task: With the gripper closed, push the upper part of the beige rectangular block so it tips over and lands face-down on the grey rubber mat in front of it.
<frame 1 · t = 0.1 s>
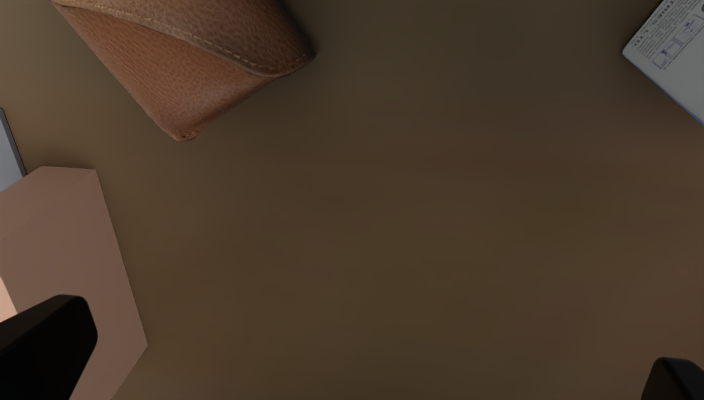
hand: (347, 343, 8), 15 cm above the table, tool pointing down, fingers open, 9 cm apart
beige rectangular block: (100, 263, 29), on the table
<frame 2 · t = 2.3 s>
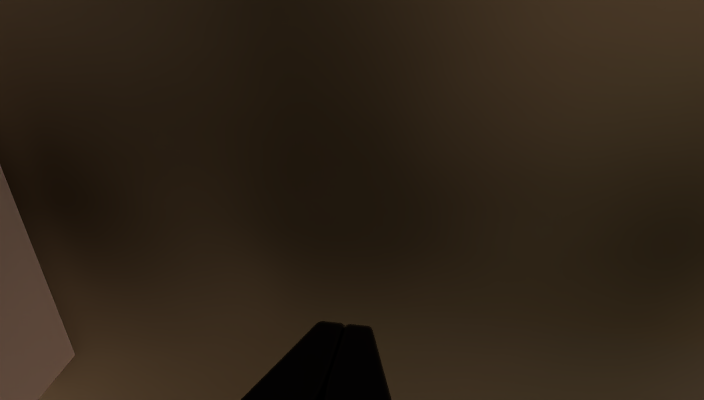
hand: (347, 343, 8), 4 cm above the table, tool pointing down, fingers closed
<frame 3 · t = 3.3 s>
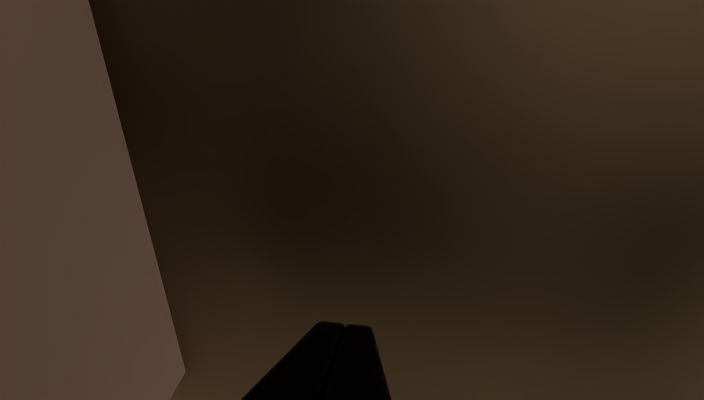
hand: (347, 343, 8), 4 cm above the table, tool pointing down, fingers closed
beige rectangular block: (87, 193, 13), on the table
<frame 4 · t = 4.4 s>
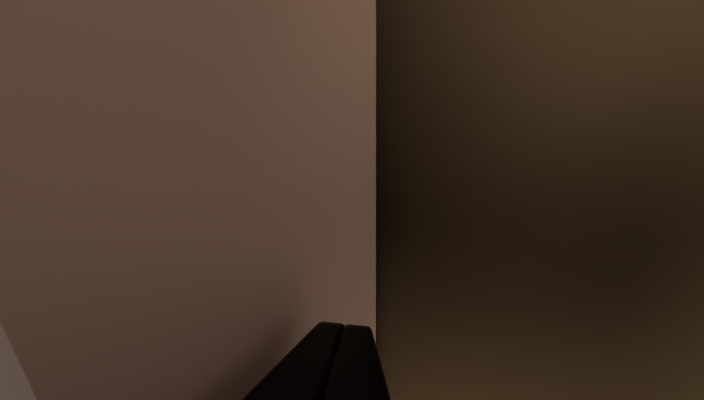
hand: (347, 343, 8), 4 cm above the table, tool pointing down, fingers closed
beige rectangular block: (315, 217, 12), on the table, tilted 17°
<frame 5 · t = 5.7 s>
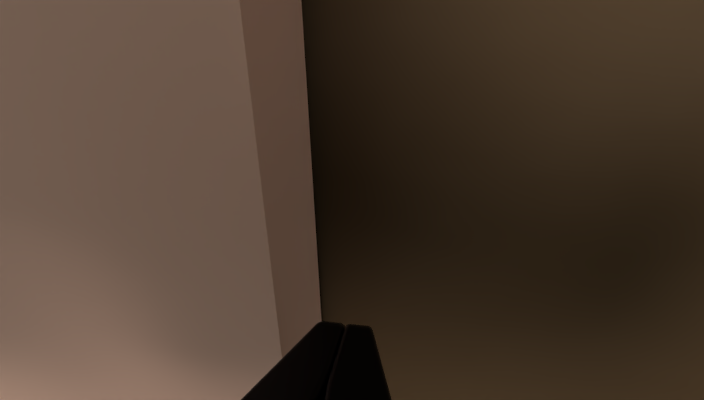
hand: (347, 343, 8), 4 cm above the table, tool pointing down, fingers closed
beige rectangular block: (297, 254, 10), point 2 cm above the table, tilted 90°, touching mat
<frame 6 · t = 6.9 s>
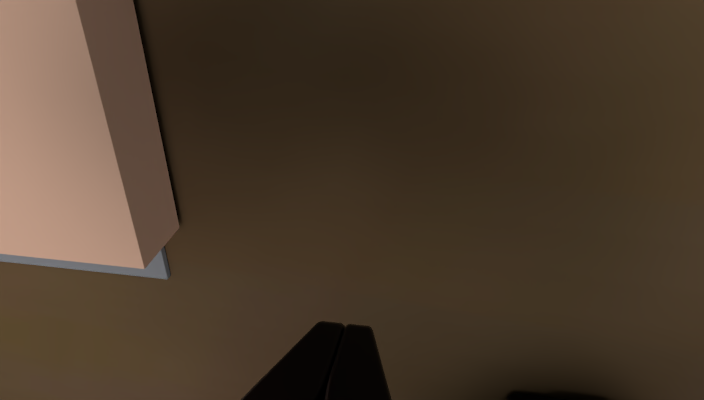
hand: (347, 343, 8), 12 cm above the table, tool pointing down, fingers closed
beige rectangular block: (131, 108, 18), point 2 cm above the table, tilted 90°, touching mat
mat: (14, 85, 21), on the table
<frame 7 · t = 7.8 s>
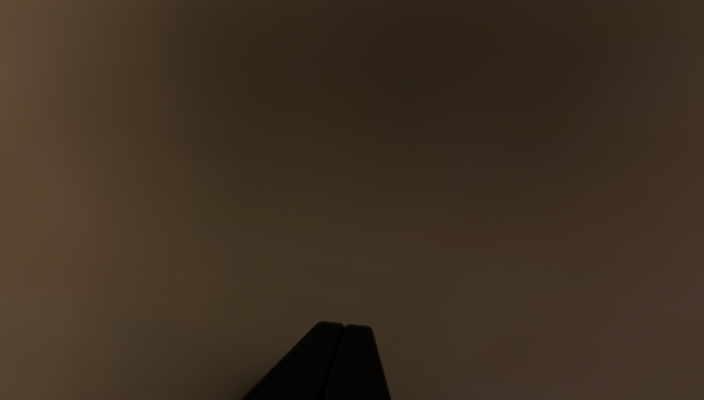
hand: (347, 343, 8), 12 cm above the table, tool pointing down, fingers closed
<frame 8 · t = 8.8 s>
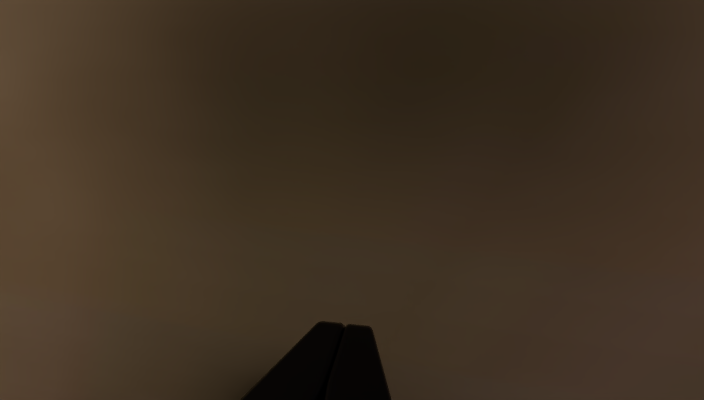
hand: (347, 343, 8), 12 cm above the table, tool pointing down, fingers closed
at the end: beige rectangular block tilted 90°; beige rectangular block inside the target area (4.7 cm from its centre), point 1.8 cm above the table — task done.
